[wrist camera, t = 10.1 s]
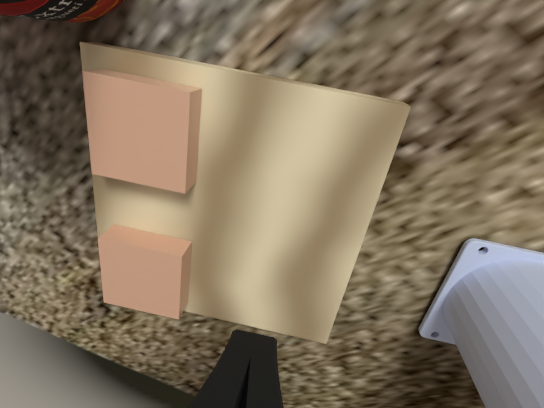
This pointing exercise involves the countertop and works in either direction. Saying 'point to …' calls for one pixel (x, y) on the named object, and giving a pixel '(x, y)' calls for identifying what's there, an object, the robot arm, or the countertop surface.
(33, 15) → the canned food
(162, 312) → the tile
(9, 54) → the countertop surface
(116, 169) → the tile
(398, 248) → the countertop surface
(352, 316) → the countertop surface
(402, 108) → the board
